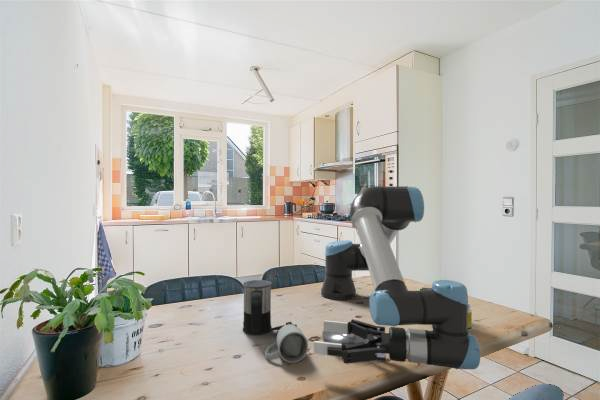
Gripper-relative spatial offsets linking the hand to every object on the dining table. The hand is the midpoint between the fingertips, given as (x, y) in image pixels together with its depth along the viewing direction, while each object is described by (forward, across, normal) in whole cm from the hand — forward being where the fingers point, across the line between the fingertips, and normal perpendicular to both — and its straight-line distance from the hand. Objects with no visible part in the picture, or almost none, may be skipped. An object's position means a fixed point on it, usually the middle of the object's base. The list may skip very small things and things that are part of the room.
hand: (319, 335), depth 82 cm
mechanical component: (-34, +40, -7) cm, 53 cm away
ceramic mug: (+9, 0, -7) cm, 11 cm away
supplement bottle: (-41, +32, -7) cm, 53 cm away
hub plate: (-6, +15, -6) cm, 17 cm away
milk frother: (+19, +15, -7) cm, 25 cm away
